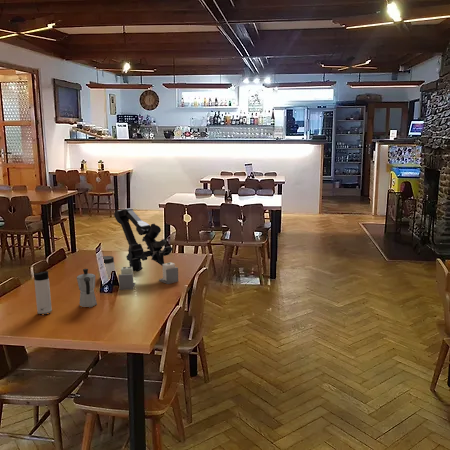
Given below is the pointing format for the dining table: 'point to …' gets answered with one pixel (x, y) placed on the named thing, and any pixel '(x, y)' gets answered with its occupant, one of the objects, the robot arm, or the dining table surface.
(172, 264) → the plunger
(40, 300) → the travel mug
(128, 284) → the housing
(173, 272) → the housing
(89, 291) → the coffee maker
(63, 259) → the dining table surface
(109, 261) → the jar
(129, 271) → the block with two buttons
